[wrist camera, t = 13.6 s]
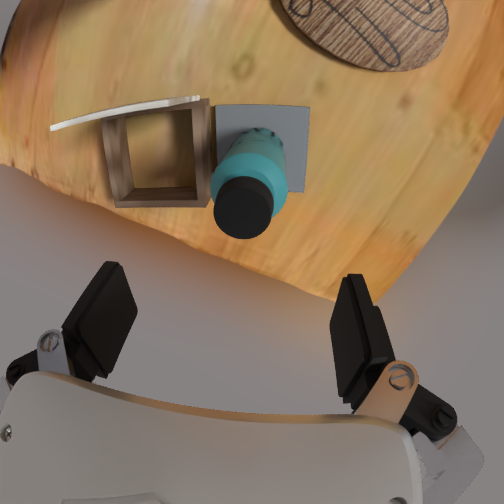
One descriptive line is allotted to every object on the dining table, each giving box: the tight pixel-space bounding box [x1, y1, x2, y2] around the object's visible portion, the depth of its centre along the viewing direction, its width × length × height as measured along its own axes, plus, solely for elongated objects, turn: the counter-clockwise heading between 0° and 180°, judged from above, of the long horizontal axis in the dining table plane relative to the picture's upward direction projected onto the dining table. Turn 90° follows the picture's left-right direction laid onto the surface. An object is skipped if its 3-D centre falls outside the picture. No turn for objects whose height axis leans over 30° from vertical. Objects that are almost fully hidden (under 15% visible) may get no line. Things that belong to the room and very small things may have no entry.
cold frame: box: [50, 95, 212, 208], centre depth 29 cm, size 15×14×15 cm
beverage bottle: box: [210, 126, 288, 239], centre depth 26 cm, size 6×7×20 cm
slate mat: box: [215, 104, 310, 193], centre depth 34 cm, size 12×12×1 cm
